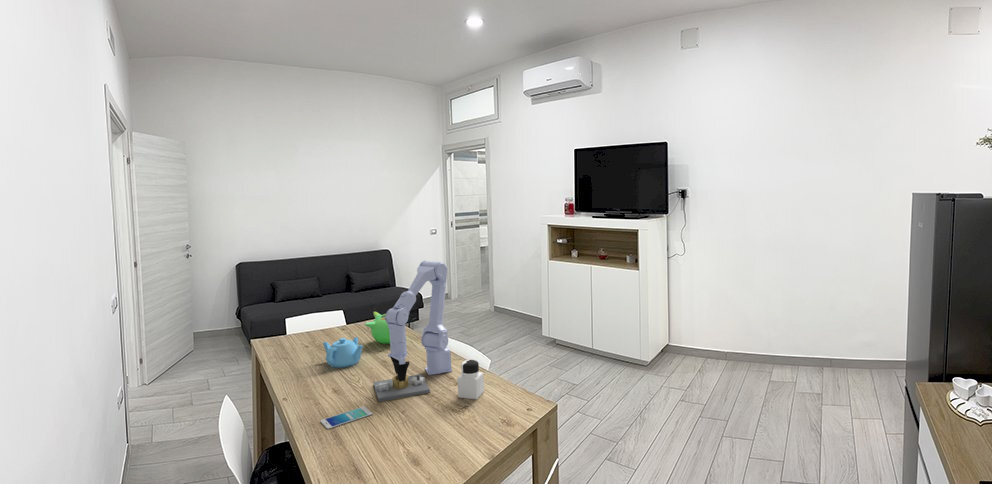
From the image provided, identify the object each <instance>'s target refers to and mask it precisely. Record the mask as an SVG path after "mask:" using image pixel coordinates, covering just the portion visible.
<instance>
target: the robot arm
mask: <svg viewBox="0 0 992 484" xmlns="http://www.w3.org/2000/svg"><path fill="white" fill-rule="evenodd" d="M416 272H417V273H416V275H415V277H414V279H413V281H412V282H411V284H410V286H409V288H408V289H407V291H403V292H401V294H400V296H399V299H398V300H397V301H396V303H395V304H394V306H393V307H392V308H389V309H388V310H387V311H386V313H385V314H386V317H385V321H386V322H387V324H388V327H389V333H390V344H389V345H390V347H389V348H390V352H389V353H387V357H388V358H390V359H391V361H392V365H393V368H394V373H395V374H396V376H397V375H398V379H399V382H400V381H405V379H406V375H407V370H408V368H409V366H410V361H409V360H408V361H406V358H407V356H408V351H407V350H408V348H407V347H408V346H407V333H406V332H407V330H406V323H407V322H408V320H409V316H410V312H411V309H413V306H414V304H415V303H416V302H417V297H416V296H417V295H418V293H419V292H420V291H421V290H422V289H423V287H424V285H426V283H427V282H429V283H430V284H431V286H432V287H431V297H430V298H431V299H430V308H429V320H428V325H426V326H425V327H424V328H423V333H422V334H421V338H420V343H421V346H423V347H424V350H425V352H426V354H425V355H426V367H424V371H426V373H427V375H429V376H431V375H437V374H438V375H439V374H443V373H450V372H453V369H452V368H453V367H452V355H451V350H450V347H448V345H449V336H448V329H447V328H446V327H445V326H444V324H443V322H444V310H445V300H446V288H447V279H448V266H447V265H446V264H445V262H443V261H427V260H423V261H421V262H420V263H419V265H418V267H417V268H416Z"/></svg>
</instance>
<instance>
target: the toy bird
mask: <svg viewBox="0 0 992 484" xmlns="http://www.w3.org/2000/svg"><path fill="white" fill-rule="evenodd" d="M373 316H374V320H373V321H368V322H365V323H364V326H365V327H367V328H369V329H370V333H371V336H372V338H373V339H374V341H375V342H378V343H380V344H382V345H388V344H389V345H390V333H389V327H388V324H387V322H386V321H385V317H386V313H383V314H380V313H379V312H377V311H373Z"/></svg>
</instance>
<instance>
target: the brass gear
mask: <svg viewBox="0 0 992 484" xmlns="http://www.w3.org/2000/svg"><path fill="white" fill-rule="evenodd" d="M408 376H409V375H407V374H406V379H405V381H400V382H399V379H398V375H397V374H396V375H395V376H393V377H392V378H391V379H392V384H393V388H395V389H402V388H406V387H407V386H409V381H408Z"/></svg>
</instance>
